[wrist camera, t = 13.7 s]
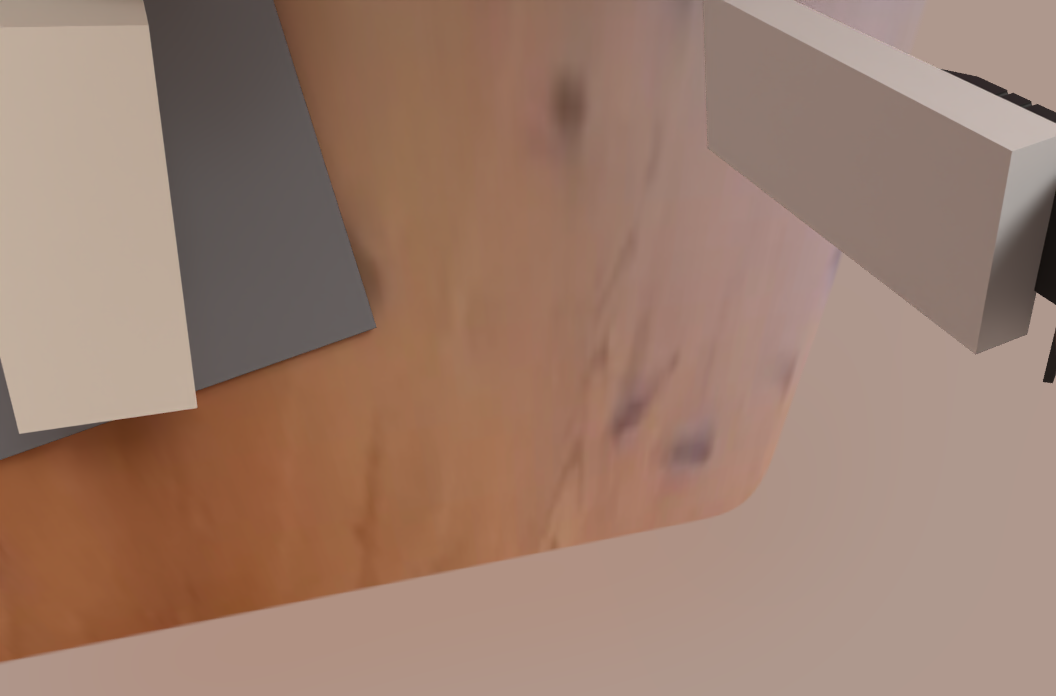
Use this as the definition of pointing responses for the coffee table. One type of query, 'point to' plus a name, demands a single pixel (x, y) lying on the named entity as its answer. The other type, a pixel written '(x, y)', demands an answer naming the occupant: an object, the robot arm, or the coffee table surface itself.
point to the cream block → (86, 220)
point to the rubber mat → (240, 200)
